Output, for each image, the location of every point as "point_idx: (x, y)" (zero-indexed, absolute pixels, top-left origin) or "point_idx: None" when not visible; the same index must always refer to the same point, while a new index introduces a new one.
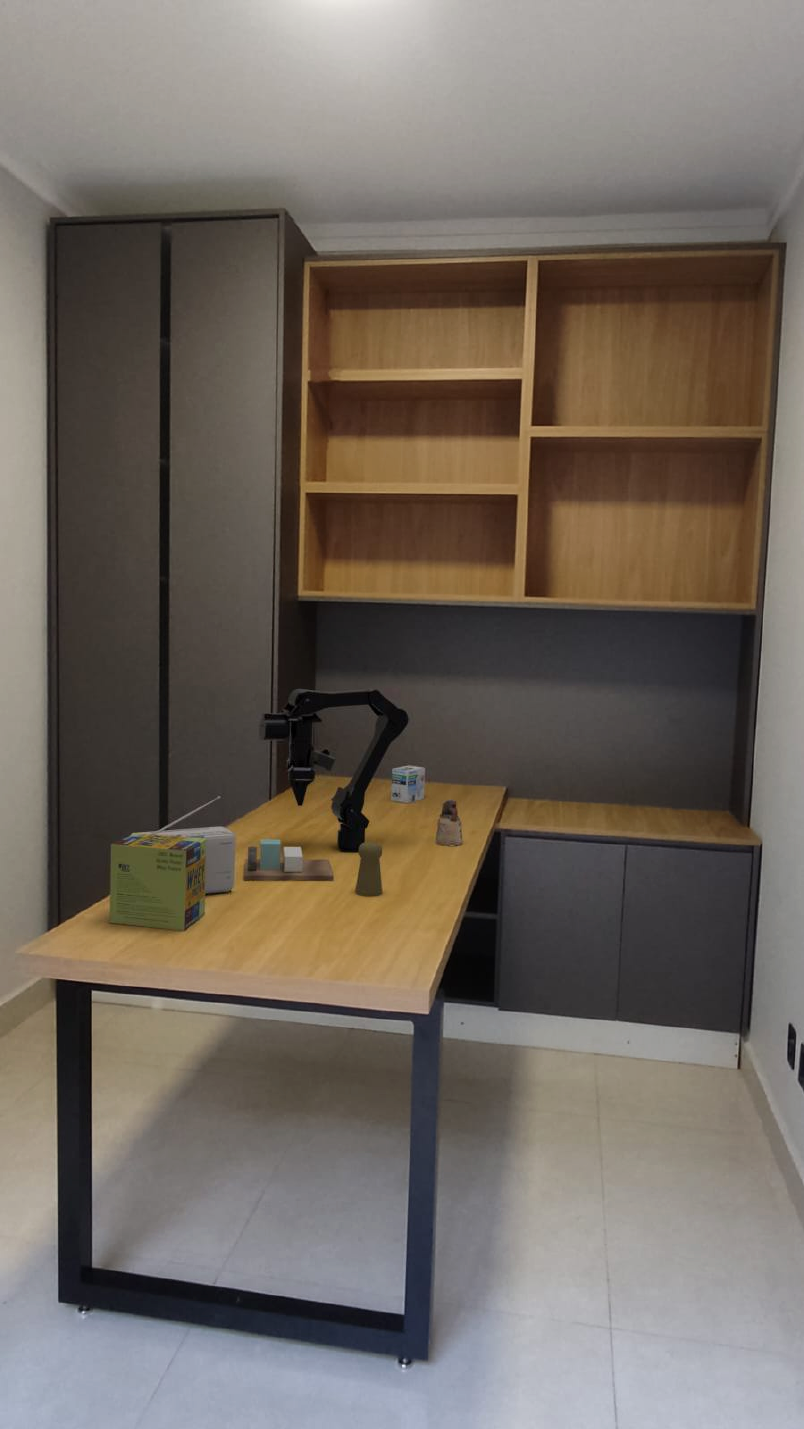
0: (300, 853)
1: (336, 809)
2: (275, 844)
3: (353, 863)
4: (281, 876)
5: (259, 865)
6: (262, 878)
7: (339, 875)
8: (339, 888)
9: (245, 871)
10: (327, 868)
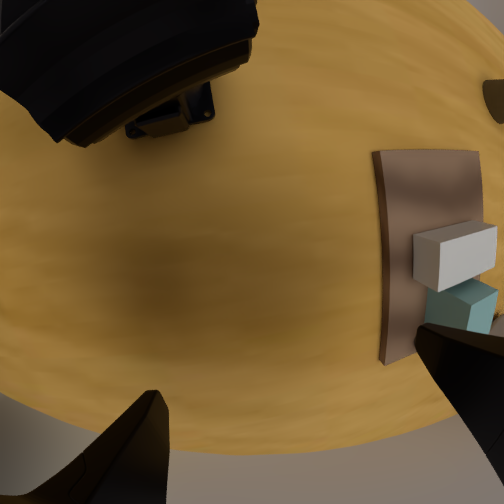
0: (482, 234)
1: (176, 87)
2: (495, 301)
3: (345, 82)
4: None
5: None
6: None
7: (443, 133)
8: (493, 146)
9: None
10: (447, 160)
